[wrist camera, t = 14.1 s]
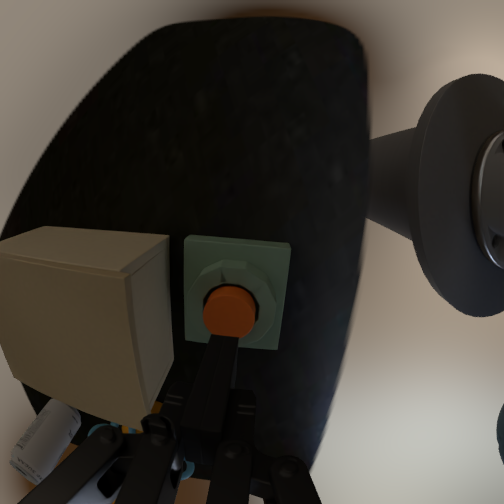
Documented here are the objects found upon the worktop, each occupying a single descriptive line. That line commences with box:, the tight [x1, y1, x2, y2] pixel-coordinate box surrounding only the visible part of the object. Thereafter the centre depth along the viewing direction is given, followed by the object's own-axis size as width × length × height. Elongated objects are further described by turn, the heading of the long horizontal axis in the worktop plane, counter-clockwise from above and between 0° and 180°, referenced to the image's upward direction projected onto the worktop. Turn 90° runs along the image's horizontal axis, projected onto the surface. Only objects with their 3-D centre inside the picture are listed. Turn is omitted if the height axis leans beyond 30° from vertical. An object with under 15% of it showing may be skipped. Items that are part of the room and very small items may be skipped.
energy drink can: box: [10, 399, 81, 485], centre depth 23 cm, size 6×6×15 cm
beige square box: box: [0, 226, 174, 410], centre depth 20 cm, size 15×13×9 cm
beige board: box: [0, 252, 151, 431], centre depth 15 cm, size 15×13×1 cm
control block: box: [184, 235, 291, 350], centre depth 22 cm, size 8×9×4 cm
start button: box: [203, 285, 256, 339], centre depth 20 cm, size 4×4×2 cm
